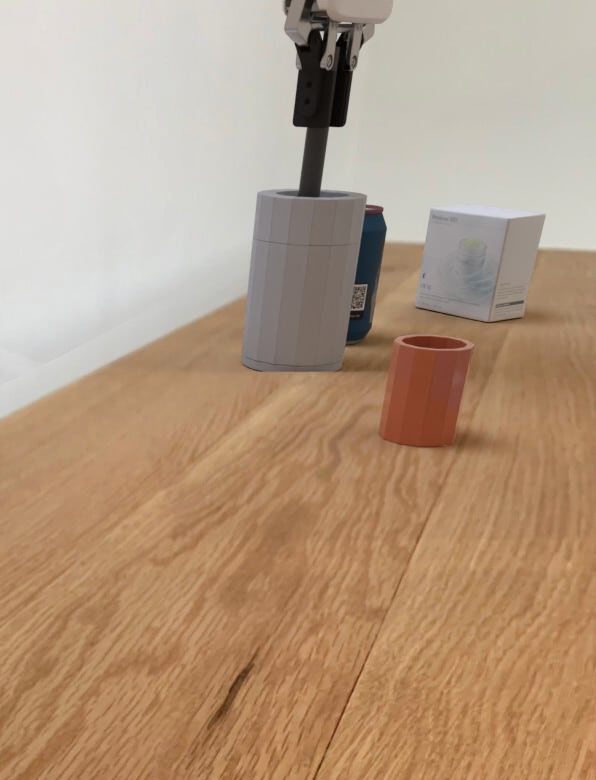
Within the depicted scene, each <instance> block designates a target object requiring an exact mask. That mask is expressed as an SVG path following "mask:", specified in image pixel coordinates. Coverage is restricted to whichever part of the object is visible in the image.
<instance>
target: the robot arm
mask: <svg viewBox="0 0 596 780" xmlns="http://www.w3.org/2000/svg"><path fill="white" fill-rule="evenodd" d="M393 7H394V0H281V9H282V12H283V14H284V16H286V18H285V21H284V25H283V30H284V33H285V35H286V36H287V37H288V38H289V39H290V40H291V41H292V42H293V43H294V46H295V50H296V56H295V68H296V69H297V80H296V89H295V96H294V97H295V98H294V105H293V115H292V125H293V126H294V127H295V128H307V127H309V128H327V127H328V126H329V128H343V127H345V126H346V124H347V119H348V113H349V112H348V111H349V104H350V97H351V91H352V90H351V89H352V83H353V77H354V76H353V74H354V71H355V70H356V69H357V66H358V63H359V57H360V51H361V49H362V47H363V45H364V44H366V43H367V42H368V41H370V40H371V39H372V38H373V37H374V34H375V30H376V29H375V28H376V25H381V24H384V23H385V22H386V21H387V20H388V19H389V18H390V17H391V14H392V11H393ZM322 32H323V34H321V33H322ZM338 34H340V35H338ZM335 47H340V53H339V60H338V67H337V71H329V70H330V69H331V68H332V66H333V62H334V54H335Z"/></svg>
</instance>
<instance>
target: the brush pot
mask: <svg viewBox="0 0 596 780" xmlns="http://www.w3.org/2000/svg"><path fill="white" fill-rule="evenodd" d="M475 346H476V345H475V344H474V343H473V342H471V341H470V340H467V339H463V338H459V337H454V336H448V335H439V334H406V335H400V336H397V337H395V339H394V340H393V344H392V348H391V349H392V350H391V356H390V359H389V360H390V362H389V366H388V367H389V368H388V374H387V379H386V385H385V390H384V397H383V401H382V402H383V403H382V408H381V414H380V420H379V426H378V436H379V437H380V438H382V439H383V440H385V441H387V442H390V443H393V444H396V445H400V446H406V447H413V448H441V447H447V446H449V445H452V444H453V443H454V442H455V440H456V438H457V433H458V428H459V424H460V418H461V413H462V409H463V404H464V400H465V399H464V398H465V394H466V390H467V385H468V381H469V380H468V379H469V375H470V370H471V366H472V360H473V356H474V350H475Z"/></svg>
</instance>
